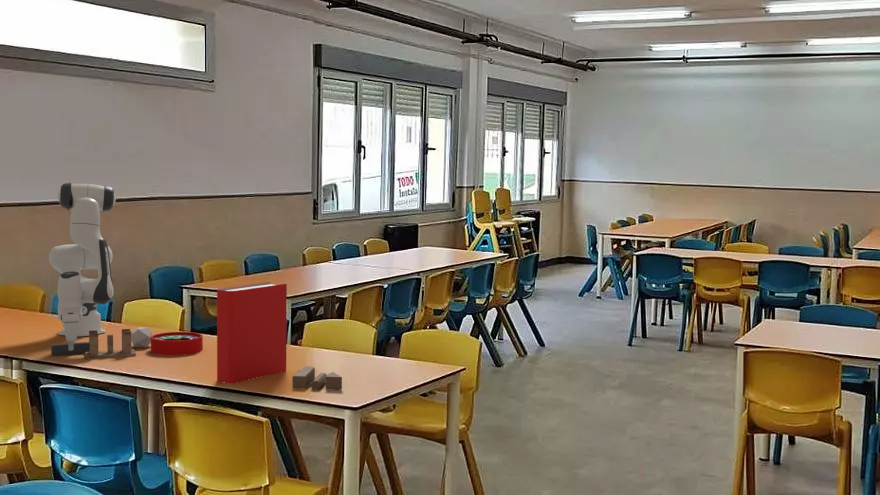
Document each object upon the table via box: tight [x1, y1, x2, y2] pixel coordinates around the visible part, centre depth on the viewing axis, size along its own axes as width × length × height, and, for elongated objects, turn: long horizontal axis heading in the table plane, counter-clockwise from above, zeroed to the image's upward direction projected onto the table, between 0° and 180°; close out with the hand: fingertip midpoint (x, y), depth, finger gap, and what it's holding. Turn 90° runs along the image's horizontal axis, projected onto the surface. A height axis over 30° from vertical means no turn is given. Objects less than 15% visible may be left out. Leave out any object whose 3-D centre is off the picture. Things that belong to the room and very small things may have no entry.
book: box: [216, 281, 288, 384], centre depth 332 cm, size 27×8×32 cm, turn 147°
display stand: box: [84, 328, 137, 360], centre depth 363 cm, size 8×18×10 cm, turn 113°
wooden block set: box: [291, 365, 343, 390], centre depth 324 cm, size 17×6×18 cm
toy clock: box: [150, 331, 204, 356], centre depth 375 cm, size 20×6×20 cm
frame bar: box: [50, 341, 89, 357], centre depth 365 cm, size 2×14×4 cm, turn 120°
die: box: [131, 326, 153, 349], centre depth 381 cm, size 8×9×10 cm
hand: (70, 349), depth 365 cm, fingers closed on frame bar, 3 cm apart
